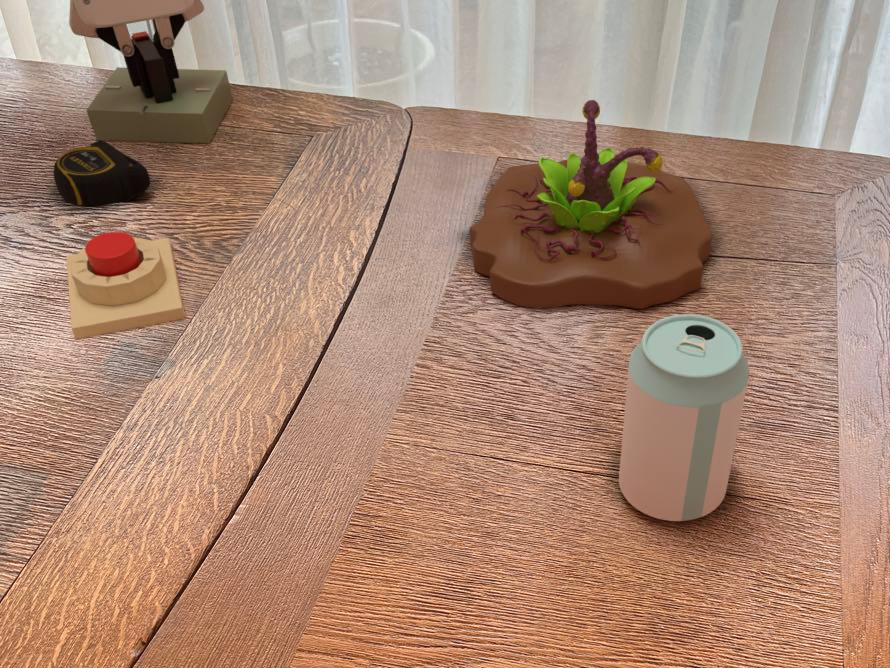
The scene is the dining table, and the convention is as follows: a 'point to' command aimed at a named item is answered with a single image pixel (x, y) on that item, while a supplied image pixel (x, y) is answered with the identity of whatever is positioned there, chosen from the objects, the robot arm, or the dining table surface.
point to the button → (112, 254)
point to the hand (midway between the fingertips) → (157, 88)
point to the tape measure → (99, 175)
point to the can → (682, 417)
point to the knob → (153, 67)
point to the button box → (124, 292)
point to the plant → (591, 230)
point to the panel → (161, 109)
